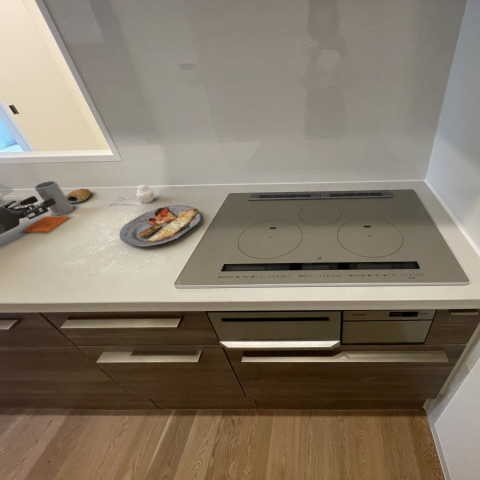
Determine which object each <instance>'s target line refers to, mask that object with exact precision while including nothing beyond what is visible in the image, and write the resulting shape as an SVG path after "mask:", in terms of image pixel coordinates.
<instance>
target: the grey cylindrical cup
mask: <svg viewBox="0 0 480 480" xmlns="http://www.w3.org/2000/svg"><path fill="white" fill-rule="evenodd" d="M33 189H35V191H36V192H37V194H38V195H39V197H40V198H41V199H42V201H46V200H48V199H50V198H53V199H54V200H55V201H56V204H55V205H52V206H50V207H48V210H49V211H51V213H52V214H53V216H61V215H66V214H69V213H71V212H72V211H73V210H74V207H73V205H72V203H70V202H69V200H68V199H67V197H66V196H67V195H65V193H64V192H63V190H62V188H61V187H60V185H59V184H58V182H57V181H55V180H50V181H49V180H48V181H44V182H40V183H37V184H36V185H34V187H33Z"/></svg>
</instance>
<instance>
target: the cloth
mask: <svg viewBox="0 0 480 480" xmlns="http://www.w3.org/2000/svg"><path fill="white" fill-rule="evenodd" d="M68 219H70V217H69V216H48V215H47V216H43V217H42V218H40V219H39V220H37V221H35V222H34V223H32V224H30V225H29V226H27V227H25V228H23V229H22V230H21V231H22V232H23V233H49V232H51V231H52V230H53V229H55V228H56V227H58V226H59V225H61V224H62V223H64V222H66V221H67V220H68Z"/></svg>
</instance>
